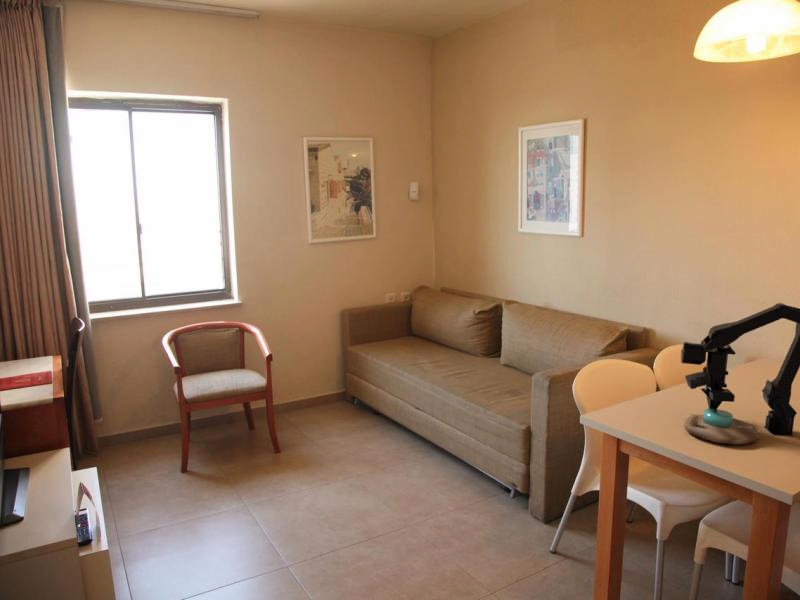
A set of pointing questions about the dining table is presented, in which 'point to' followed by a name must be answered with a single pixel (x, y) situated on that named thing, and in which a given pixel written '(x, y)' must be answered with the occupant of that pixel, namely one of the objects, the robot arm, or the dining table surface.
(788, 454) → the dining table surface
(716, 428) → the disc
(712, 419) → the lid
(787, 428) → the robot arm
